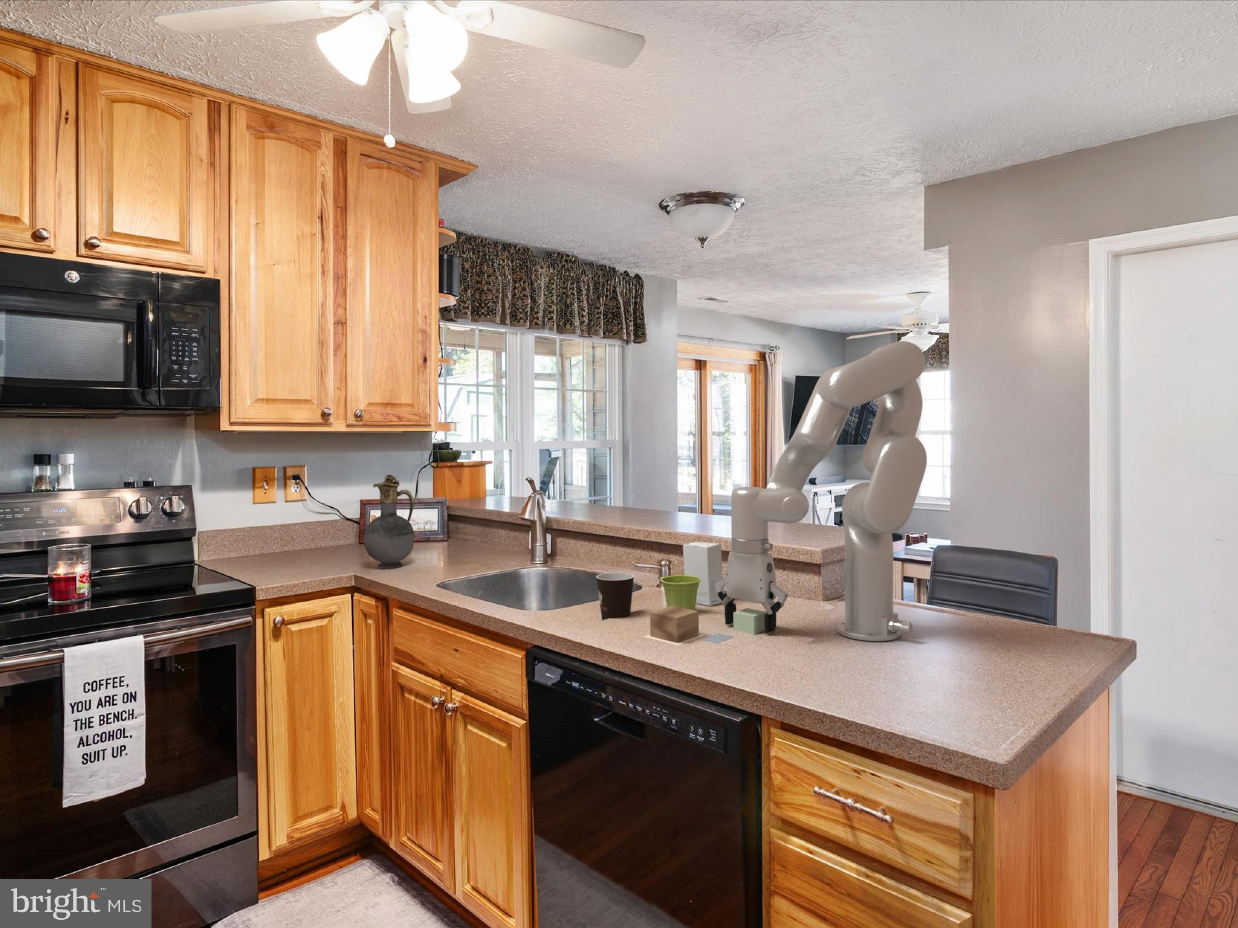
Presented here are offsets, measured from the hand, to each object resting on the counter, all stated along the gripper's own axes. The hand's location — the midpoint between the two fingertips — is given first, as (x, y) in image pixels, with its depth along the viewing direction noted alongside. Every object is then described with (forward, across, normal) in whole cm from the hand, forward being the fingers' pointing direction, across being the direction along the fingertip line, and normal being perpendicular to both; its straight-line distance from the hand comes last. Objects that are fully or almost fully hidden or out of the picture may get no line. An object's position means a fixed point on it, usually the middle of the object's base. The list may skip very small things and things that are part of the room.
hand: (749, 627), depth 152 cm
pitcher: (+2, +132, +8) cm, 132 cm away
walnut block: (+1, +9, +14) cm, 17 cm away
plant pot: (+2, +21, -3) cm, 21 cm away
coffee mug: (+2, +31, +8) cm, 32 cm away
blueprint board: (+2, +8, +13) cm, 15 cm away
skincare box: (+2, +25, -17) cm, 30 cm away
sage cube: (+2, 0, 0) cm, 2 cm away
